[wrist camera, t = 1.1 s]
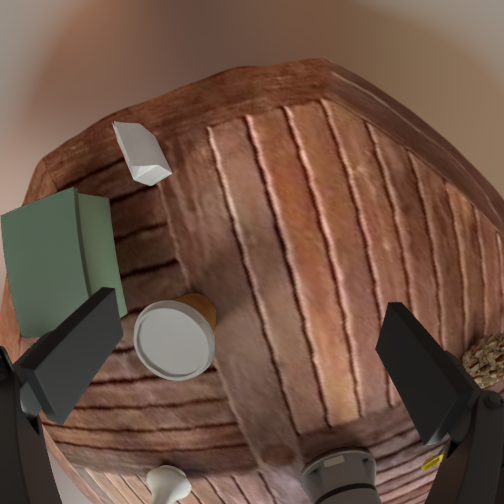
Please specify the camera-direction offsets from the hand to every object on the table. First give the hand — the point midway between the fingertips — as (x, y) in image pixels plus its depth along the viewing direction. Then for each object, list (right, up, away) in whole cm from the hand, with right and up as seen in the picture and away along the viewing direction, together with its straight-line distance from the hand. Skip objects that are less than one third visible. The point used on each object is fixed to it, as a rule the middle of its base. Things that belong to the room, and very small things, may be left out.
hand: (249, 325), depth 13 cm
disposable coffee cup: (-8, -6, +28) cm, 29 cm away
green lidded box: (-28, +2, +28) cm, 40 cm away
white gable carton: (-14, +17, +26) cm, 34 cm away
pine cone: (+39, -17, +27) cm, 50 cm away
